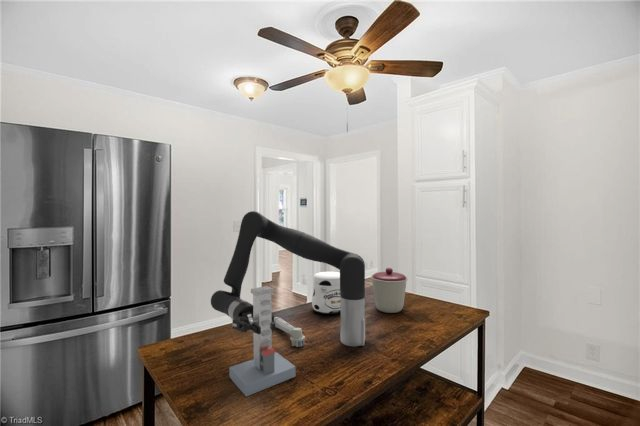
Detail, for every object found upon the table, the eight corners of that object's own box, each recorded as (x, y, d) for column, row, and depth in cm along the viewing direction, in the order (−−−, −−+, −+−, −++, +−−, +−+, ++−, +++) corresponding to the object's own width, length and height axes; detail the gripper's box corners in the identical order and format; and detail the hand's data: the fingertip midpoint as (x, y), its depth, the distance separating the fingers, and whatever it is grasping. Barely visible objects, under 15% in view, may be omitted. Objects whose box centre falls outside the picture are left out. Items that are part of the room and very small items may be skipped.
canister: (370, 303, 162) (370, 264, 162) (405, 304, 160) (405, 264, 160) (371, 315, 144) (371, 271, 144) (410, 317, 142) (410, 272, 142)
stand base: (276, 360, 102) (275, 332, 101) (295, 376, 92) (295, 345, 92) (229, 377, 92) (229, 345, 92) (246, 396, 82) (245, 361, 82)
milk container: (336, 319, 139) (336, 280, 138) (304, 312, 148) (304, 276, 147) (352, 309, 153) (352, 273, 153) (323, 303, 162) (323, 269, 162)
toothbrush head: (280, 315, 134) (306, 326, 113) (281, 330, 134) (308, 345, 112) (269, 317, 132) (294, 329, 110) (270, 333, 131) (295, 348, 109)
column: (267, 359, 95) (267, 285, 95) (275, 365, 91) (275, 289, 91) (251, 365, 92) (250, 288, 91) (258, 372, 88) (257, 292, 87)
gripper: (222, 306, 99) (244, 321, 85) (262, 298, 107) (287, 311, 94) (222, 329, 99) (244, 348, 85) (262, 319, 107) (287, 335, 94)
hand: (266, 328), depth 89 cm, fingers closed on column, 4 cm apart
